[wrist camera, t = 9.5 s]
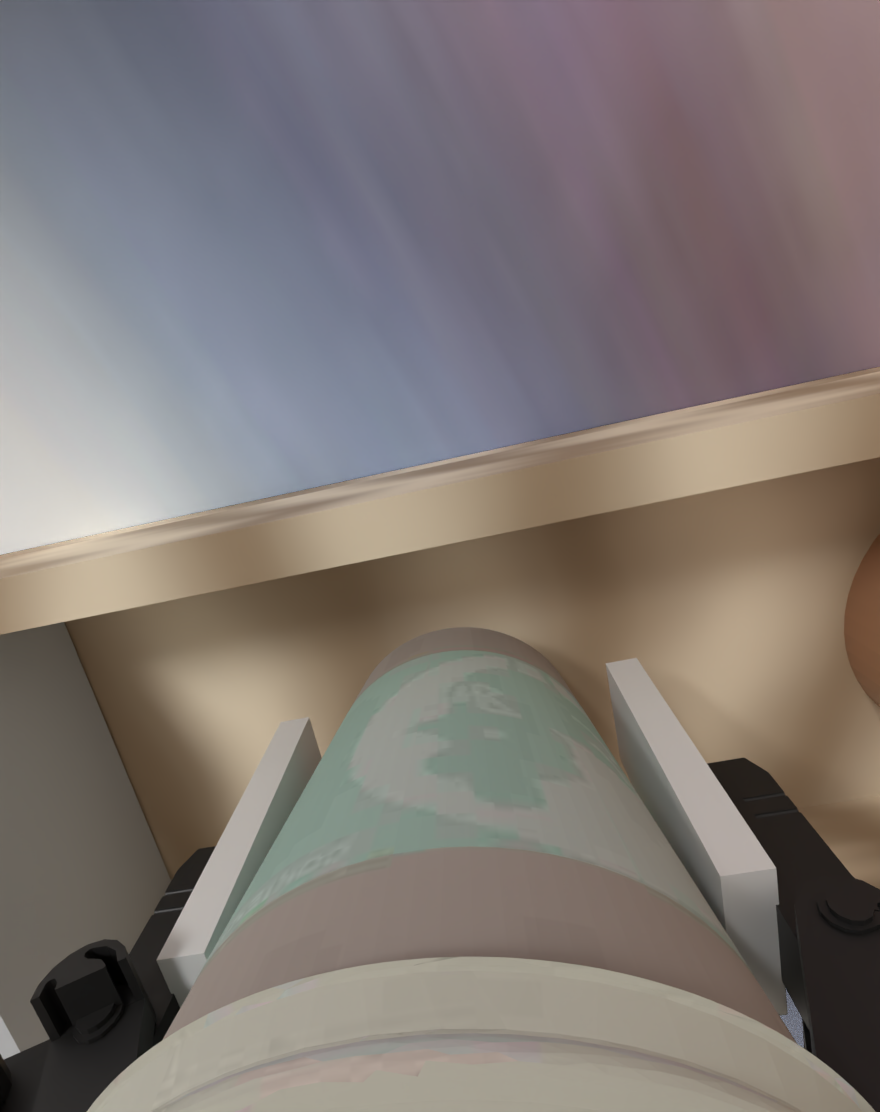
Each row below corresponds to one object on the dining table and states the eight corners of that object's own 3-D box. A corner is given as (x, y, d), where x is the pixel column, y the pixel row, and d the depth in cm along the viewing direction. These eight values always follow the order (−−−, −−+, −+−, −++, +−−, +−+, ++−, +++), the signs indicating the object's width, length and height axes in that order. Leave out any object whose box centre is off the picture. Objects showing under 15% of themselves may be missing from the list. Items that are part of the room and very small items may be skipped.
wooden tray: (100, 923, 21) (-36, 1128, 15) (-65, 568, 17) (-325, 658, 12) (1170, 758, 18) (1508, 933, 12) (1232, 291, 14) (1747, 227, 9)
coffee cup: (696, 728, 15) (1418, 1751, 4) (464, 910, 17) (481, 1971, 6) (464, 501, 14) (507, 1056, 2) (237, 726, 16) (-366, 1659, 4)
